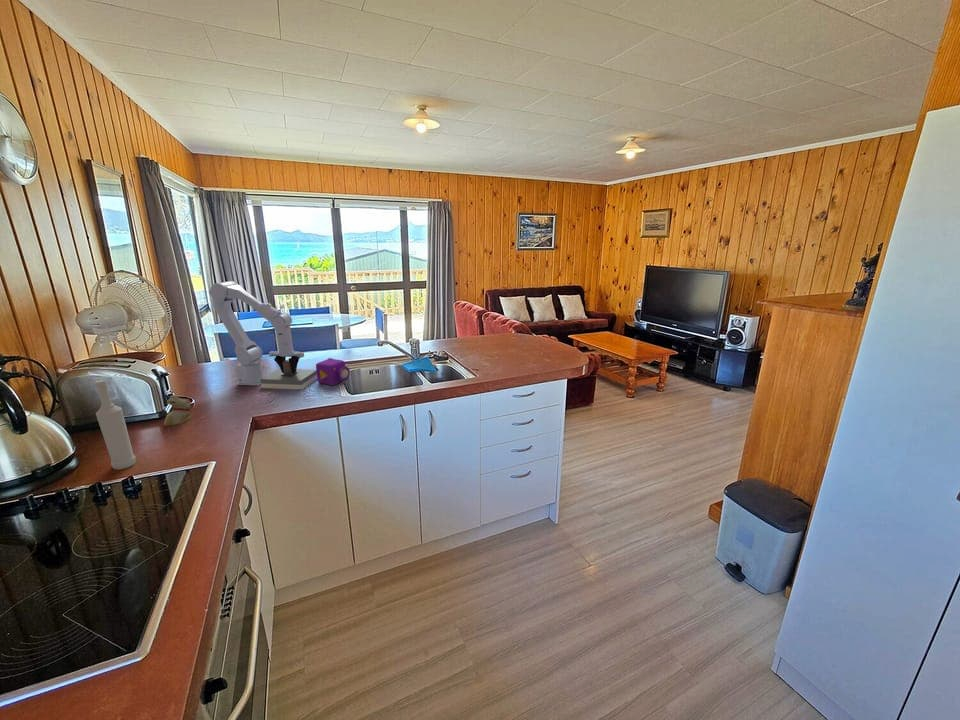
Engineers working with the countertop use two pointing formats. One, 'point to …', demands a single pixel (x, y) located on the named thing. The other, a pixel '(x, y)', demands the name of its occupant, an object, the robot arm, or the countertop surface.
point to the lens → (287, 368)
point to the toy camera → (332, 371)
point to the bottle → (114, 430)
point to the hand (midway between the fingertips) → (289, 372)
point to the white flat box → (289, 379)
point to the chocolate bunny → (177, 411)
